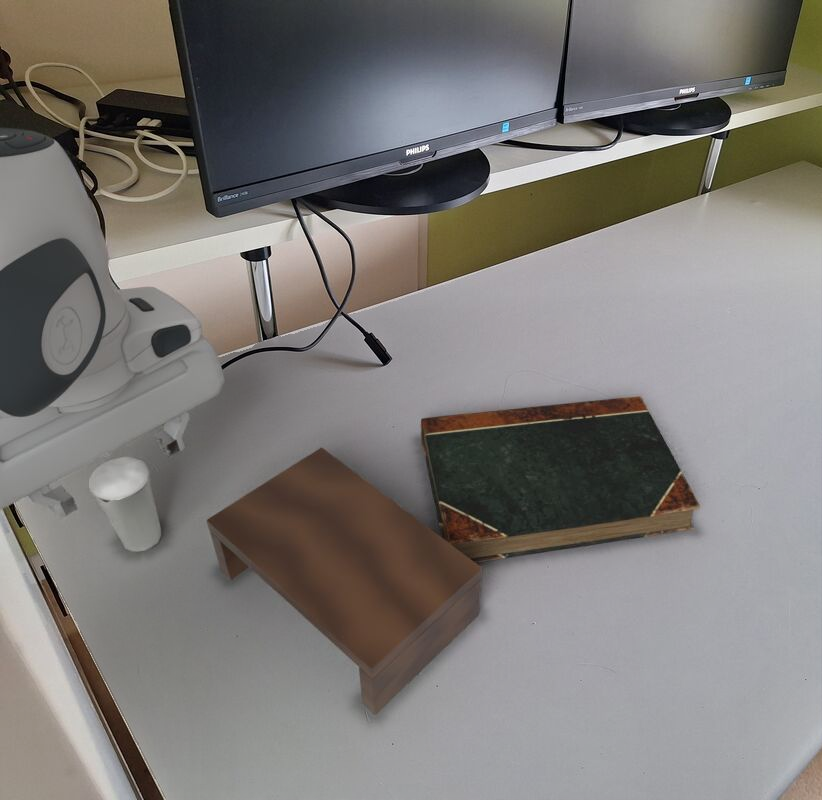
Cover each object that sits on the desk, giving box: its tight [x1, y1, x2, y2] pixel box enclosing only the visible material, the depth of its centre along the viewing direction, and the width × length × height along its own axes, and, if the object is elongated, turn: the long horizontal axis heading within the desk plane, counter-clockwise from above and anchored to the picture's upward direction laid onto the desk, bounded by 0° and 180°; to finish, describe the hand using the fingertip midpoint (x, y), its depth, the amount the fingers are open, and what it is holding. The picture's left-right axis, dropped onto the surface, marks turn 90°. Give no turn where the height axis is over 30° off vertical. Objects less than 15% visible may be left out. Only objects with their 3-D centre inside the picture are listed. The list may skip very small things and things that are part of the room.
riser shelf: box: [206, 446, 483, 715], centre depth 65 cm, size 12×20×7 cm, turn 52°
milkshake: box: [88, 452, 163, 553], centre depth 66 cm, size 4×5×10 cm
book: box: [420, 395, 701, 563], centre depth 78 cm, size 17×4×25 cm
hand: (121, 478), depth 64 cm, fingers open, 8 cm apart
